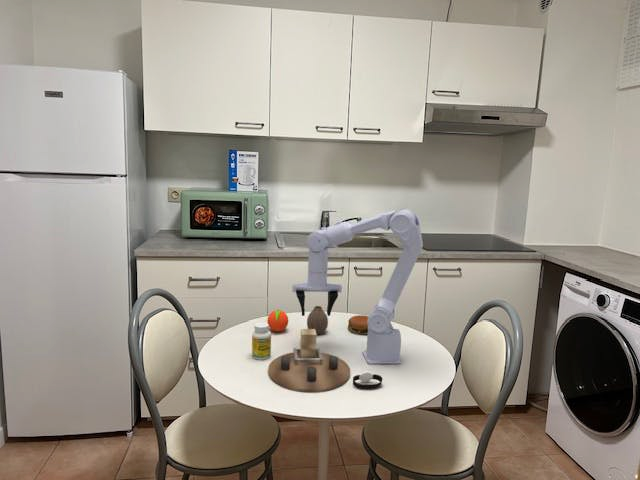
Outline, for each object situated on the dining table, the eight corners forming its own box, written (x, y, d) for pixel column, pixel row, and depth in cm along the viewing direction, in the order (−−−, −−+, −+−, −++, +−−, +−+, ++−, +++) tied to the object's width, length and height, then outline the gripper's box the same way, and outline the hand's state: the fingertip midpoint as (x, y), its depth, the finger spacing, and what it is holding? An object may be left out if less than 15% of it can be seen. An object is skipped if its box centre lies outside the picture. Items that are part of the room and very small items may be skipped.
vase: (327, 336, 150) (328, 311, 149) (306, 336, 150) (307, 310, 149) (327, 329, 157) (328, 304, 156) (307, 328, 157) (307, 303, 156)
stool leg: (313, 355, 134) (315, 329, 132) (315, 361, 130) (316, 334, 128) (300, 355, 133) (300, 329, 132) (301, 361, 129) (302, 334, 128)
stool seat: (343, 354, 138) (343, 341, 137) (356, 391, 116) (357, 376, 116) (268, 354, 135) (268, 341, 135) (268, 393, 114) (268, 378, 113)
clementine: (287, 336, 149) (287, 315, 148) (265, 335, 149) (265, 314, 148) (288, 327, 157) (289, 307, 156) (268, 326, 157) (268, 306, 156)
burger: (343, 326, 160) (343, 313, 159) (367, 324, 164) (368, 311, 163) (355, 337, 151) (356, 324, 150) (380, 334, 155) (382, 321, 154)
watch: (379, 381, 123) (379, 368, 122) (384, 390, 118) (385, 376, 118) (350, 382, 121) (351, 369, 121) (354, 391, 117) (355, 378, 116)
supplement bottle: (265, 351, 138) (266, 320, 136) (273, 358, 134) (274, 326, 132) (248, 354, 135) (249, 323, 133) (256, 361, 131) (257, 329, 129)
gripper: (339, 267, 142) (337, 310, 145) (292, 267, 141) (291, 310, 143) (343, 273, 135) (341, 318, 138) (293, 273, 134) (292, 318, 136)
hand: (315, 314), depth 140 cm, fingers open, 7 cm apart
